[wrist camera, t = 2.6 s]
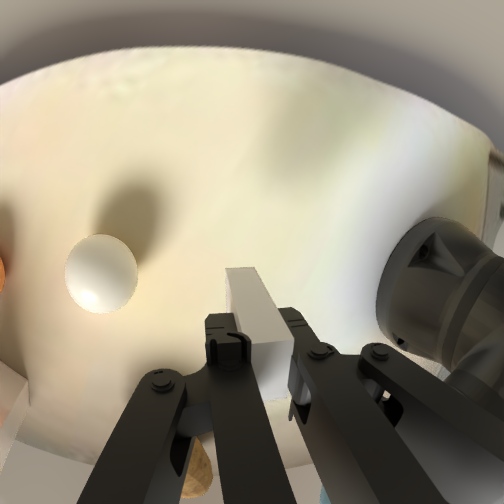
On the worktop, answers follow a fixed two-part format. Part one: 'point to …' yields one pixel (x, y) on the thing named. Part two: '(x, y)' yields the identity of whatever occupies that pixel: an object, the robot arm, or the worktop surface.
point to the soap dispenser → (11, 407)
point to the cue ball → (101, 273)
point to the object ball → (2, 275)
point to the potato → (197, 473)
